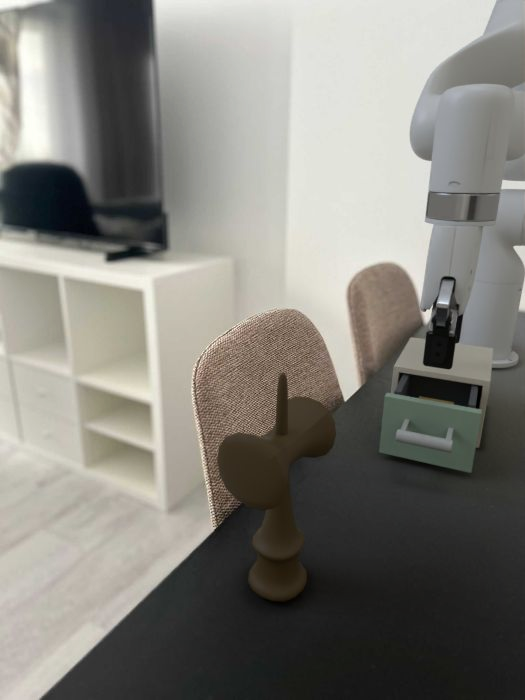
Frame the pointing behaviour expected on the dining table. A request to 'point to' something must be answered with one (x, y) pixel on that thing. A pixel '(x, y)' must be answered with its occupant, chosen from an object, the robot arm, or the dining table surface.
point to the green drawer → (431, 422)
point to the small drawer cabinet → (466, 368)
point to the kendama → (276, 487)
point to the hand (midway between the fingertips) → (441, 353)
